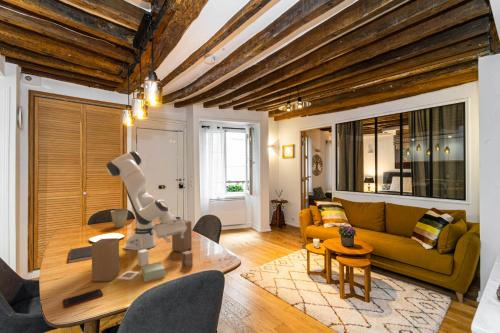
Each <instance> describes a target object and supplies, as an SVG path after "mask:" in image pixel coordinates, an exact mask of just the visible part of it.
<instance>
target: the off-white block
mask: <svg viewBox="0 0 500 333" xmlns="http://www.w3.org/2000/svg"><path fill="white" fill-rule="evenodd" d="M149 254H150V253H149V250H148V249H143V250H137V265H139V266H140V265H141V267H142V266H143V265H148V264H150V263H149V262H150V260H149V256H150V255H149Z"/></svg>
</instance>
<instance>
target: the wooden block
mask: <svg viewBox="0 0 500 333" xmlns="http://www.w3.org/2000/svg"><path fill="white" fill-rule="evenodd" d="M91 246H92V258H91V280H92V282H96V283H97V282H110V281H113V279H114V278H116V277H118V275H119V274H120V239H118V238H106V239H100V240H98V241H97V242H92V244H91Z"/></svg>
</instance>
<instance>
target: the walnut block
mask: <svg viewBox="0 0 500 333" xmlns="http://www.w3.org/2000/svg"><path fill="white" fill-rule="evenodd" d="M193 258H194V256H193V252H192V251H190V250H187V251H185V252H181V267H182V268H185V269H188V268H190V267H193V266H194V265H193V263H194V262H193Z"/></svg>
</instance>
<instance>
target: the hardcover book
mask: <svg viewBox="0 0 500 333" xmlns="http://www.w3.org/2000/svg"><path fill="white" fill-rule="evenodd" d="M86 260H92V245H89V246H83V247H77V248H76V247H75V248H71V249H69V254H68V258H67V263H68V264H69V263H75V262H80V261H86Z"/></svg>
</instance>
